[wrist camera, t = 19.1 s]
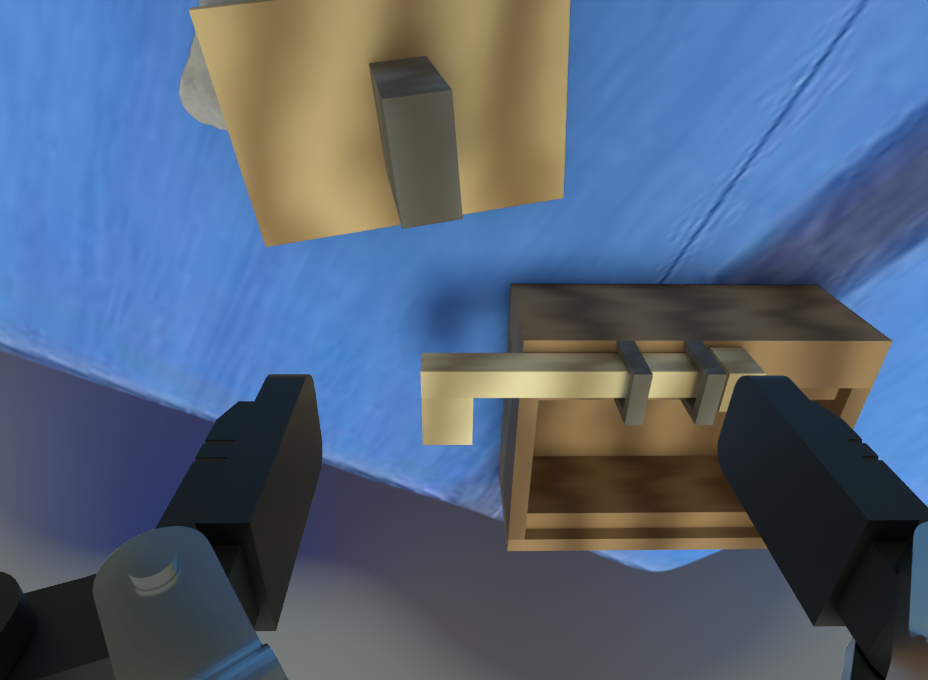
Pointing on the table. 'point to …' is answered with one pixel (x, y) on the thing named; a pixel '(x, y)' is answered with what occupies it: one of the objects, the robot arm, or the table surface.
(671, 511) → the wooden box
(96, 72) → the table surface
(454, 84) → the lid
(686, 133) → the table surface
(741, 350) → the yellow latch bar
